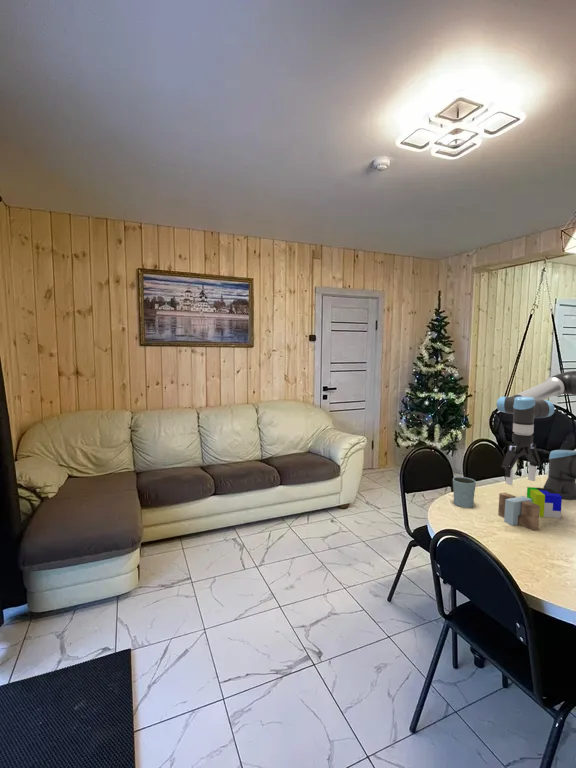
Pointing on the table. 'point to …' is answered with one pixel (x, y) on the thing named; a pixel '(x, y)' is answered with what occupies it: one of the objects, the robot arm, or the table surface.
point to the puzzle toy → (546, 501)
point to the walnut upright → (522, 512)
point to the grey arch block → (514, 509)
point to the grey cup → (464, 491)
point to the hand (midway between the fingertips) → (520, 482)
